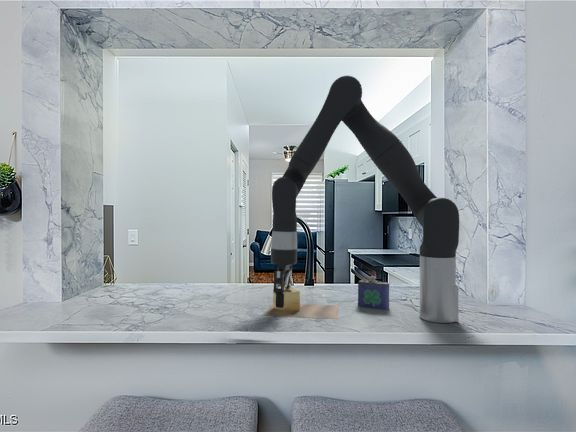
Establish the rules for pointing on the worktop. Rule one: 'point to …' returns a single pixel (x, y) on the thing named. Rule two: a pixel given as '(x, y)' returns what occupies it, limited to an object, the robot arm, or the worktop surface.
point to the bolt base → (308, 311)
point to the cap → (288, 301)
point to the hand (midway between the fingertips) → (282, 303)
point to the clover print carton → (373, 294)
